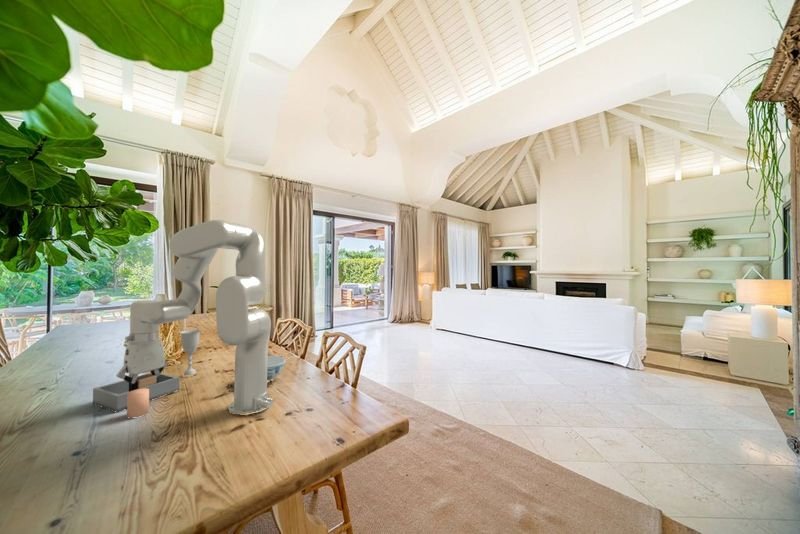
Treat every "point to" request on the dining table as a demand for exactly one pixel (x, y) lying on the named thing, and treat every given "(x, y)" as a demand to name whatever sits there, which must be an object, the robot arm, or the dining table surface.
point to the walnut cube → (146, 380)
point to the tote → (117, 392)
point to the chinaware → (274, 366)
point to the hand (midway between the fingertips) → (143, 390)
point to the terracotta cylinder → (137, 402)
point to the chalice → (190, 346)
